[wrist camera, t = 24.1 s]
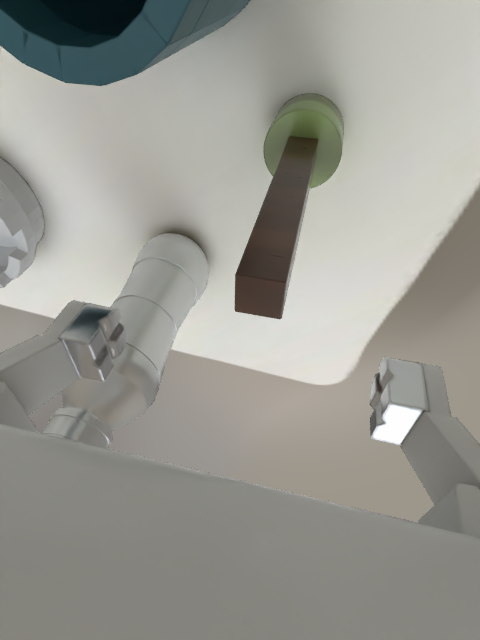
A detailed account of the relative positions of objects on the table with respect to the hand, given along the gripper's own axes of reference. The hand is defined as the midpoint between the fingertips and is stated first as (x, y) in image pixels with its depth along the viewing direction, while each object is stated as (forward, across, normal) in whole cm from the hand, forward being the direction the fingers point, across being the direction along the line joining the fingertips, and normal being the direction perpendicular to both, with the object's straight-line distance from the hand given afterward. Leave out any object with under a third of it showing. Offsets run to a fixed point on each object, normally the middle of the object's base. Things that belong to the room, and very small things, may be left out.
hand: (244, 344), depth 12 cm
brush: (+20, 0, 0) cm, 20 cm away
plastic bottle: (+20, +10, +12) cm, 26 cm away
